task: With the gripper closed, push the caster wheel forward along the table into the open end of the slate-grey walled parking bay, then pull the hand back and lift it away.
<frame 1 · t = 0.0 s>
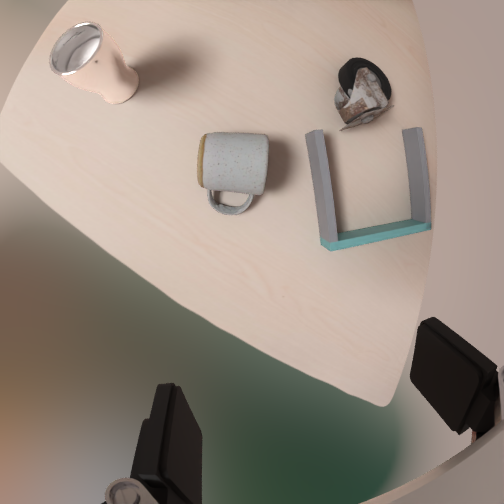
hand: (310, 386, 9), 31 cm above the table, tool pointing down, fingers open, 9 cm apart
parking bay: (369, 182, 39), on the table
ceramic mug: (233, 173, 37), on the table
beer glass: (120, 85, 32), on the table
caster wheel: (352, 93, 36), on the table
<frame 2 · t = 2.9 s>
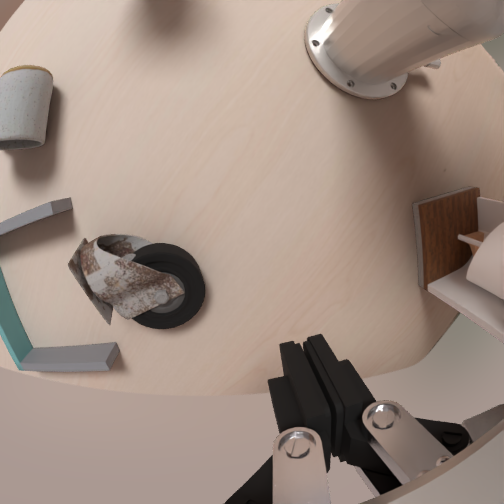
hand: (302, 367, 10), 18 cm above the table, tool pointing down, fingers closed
parking bay: (42, 289, 26), on the table
ceramic mug: (29, 118, 21), on the table
white shelf stand: (446, 233, 30), on the table
caster wheel: (152, 267, 28), on the table
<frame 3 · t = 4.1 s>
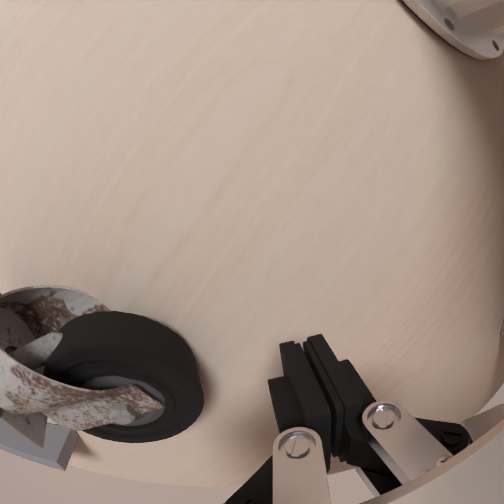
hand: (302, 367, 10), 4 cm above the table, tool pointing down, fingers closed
caster wheel: (107, 341, 14), on the table
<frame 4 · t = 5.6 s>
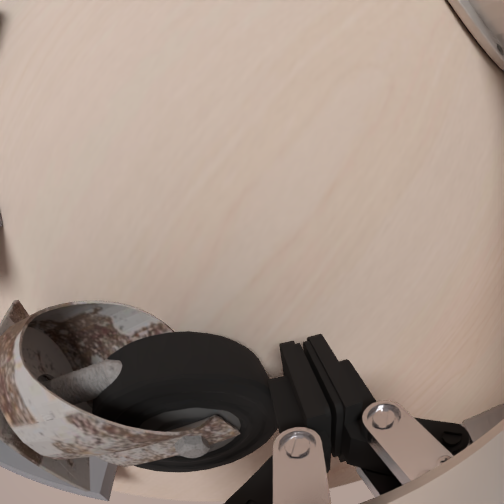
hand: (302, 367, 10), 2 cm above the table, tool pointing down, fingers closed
caster wheel: (160, 362, 12), on the table, touching gripper
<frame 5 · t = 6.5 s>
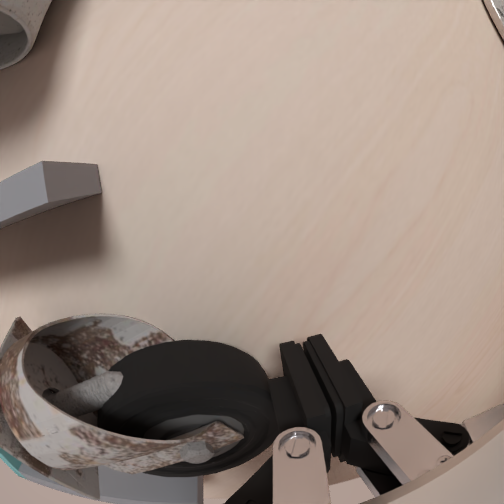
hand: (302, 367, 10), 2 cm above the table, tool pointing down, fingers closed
parking bay: (36, 366, 12), on the table
ceramic mug: (15, 22, 7), on the table
caster wheel: (162, 370, 12), on the table, touching gripper
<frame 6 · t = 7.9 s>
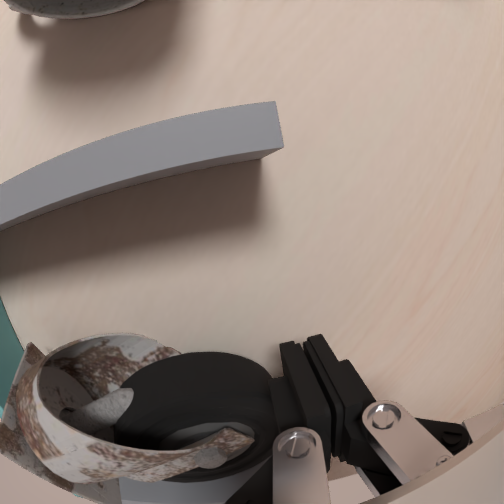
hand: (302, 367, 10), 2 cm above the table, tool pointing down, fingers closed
parking bay: (126, 365, 12), on the table
caster wheel: (172, 381, 13), on the table, touching gripper
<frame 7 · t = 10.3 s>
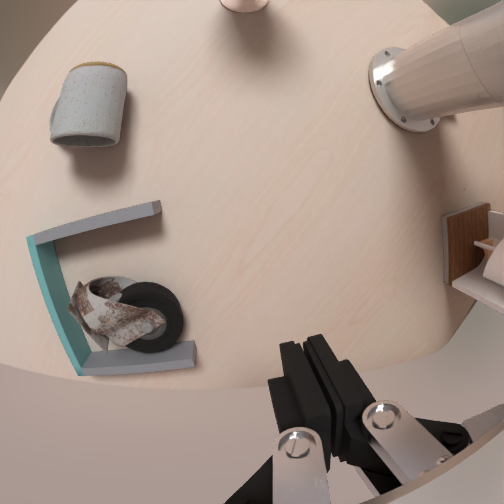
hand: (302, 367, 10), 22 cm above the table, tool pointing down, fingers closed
parking bay: (115, 291, 30), on the table
ceramic mug: (93, 117, 26), on the table
white shelf stand: (464, 240, 35), on the table
caster wheel: (138, 301, 31), on the table
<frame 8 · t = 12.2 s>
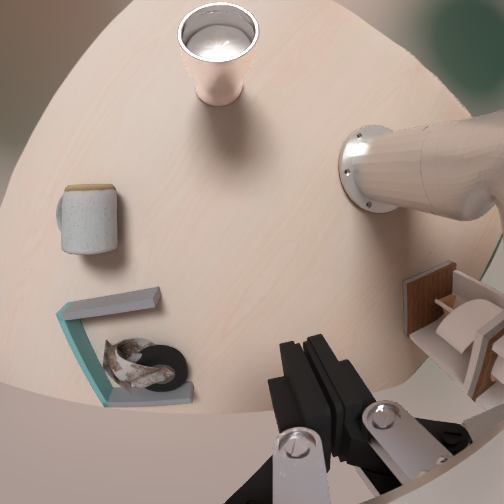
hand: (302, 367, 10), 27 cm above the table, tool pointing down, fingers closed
parking bay: (129, 348, 39), on the table
ceramic mug: (92, 215, 34), on the table
beer glass: (218, 85, 31), on the table
white shelf stand: (427, 296, 43), on the table
caster wheel: (152, 354, 40), on the table
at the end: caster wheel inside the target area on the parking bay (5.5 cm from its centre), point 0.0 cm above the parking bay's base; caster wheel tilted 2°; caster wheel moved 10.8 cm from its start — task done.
